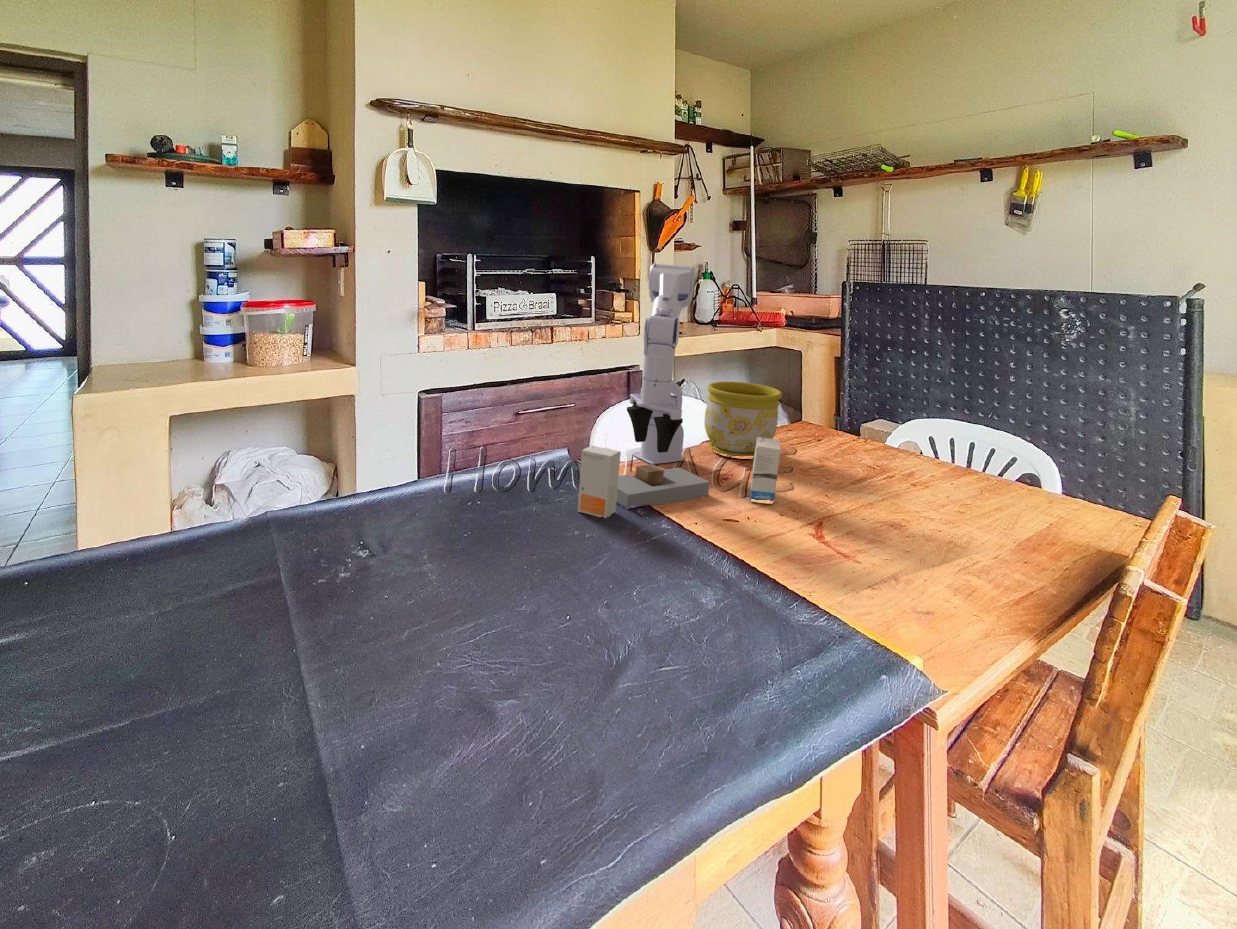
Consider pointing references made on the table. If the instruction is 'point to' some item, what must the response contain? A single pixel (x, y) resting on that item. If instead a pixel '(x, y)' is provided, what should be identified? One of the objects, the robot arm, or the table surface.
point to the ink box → (765, 469)
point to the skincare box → (598, 481)
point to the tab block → (650, 474)
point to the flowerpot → (740, 416)
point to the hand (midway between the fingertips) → (651, 446)
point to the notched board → (661, 488)
